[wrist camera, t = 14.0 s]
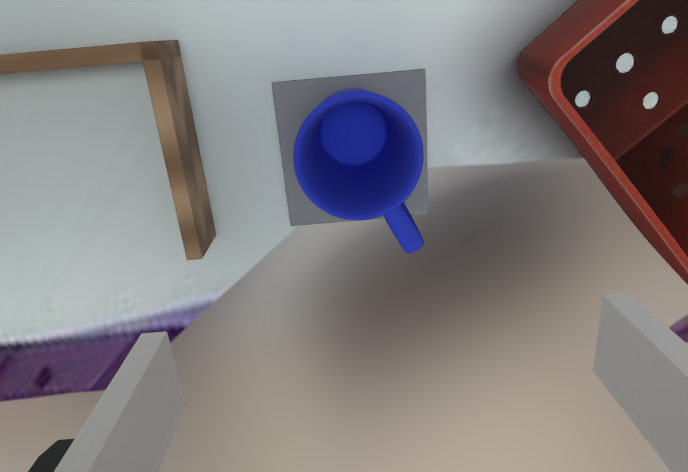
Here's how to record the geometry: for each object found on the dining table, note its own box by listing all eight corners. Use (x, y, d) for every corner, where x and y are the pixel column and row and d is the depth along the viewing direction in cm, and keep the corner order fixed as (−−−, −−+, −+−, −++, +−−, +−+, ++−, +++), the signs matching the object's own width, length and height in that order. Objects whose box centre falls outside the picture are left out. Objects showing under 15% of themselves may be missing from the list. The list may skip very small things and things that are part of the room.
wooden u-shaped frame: (-111, 65, 38) (-171, 70, 34) (177, 40, 38) (156, 41, 33) (-33, 256, 44) (-76, 282, 40) (215, 235, 44) (202, 258, 40)
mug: (360, 233, 44) (367, 286, 34) (282, 114, 40) (266, 139, 31) (443, 185, 42) (474, 227, 33) (370, 56, 38) (382, 64, 29)
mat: (272, 82, 39) (271, 83, 39) (423, 68, 39) (425, 69, 39) (291, 223, 44) (290, 226, 43) (427, 212, 44) (428, 214, 43)
